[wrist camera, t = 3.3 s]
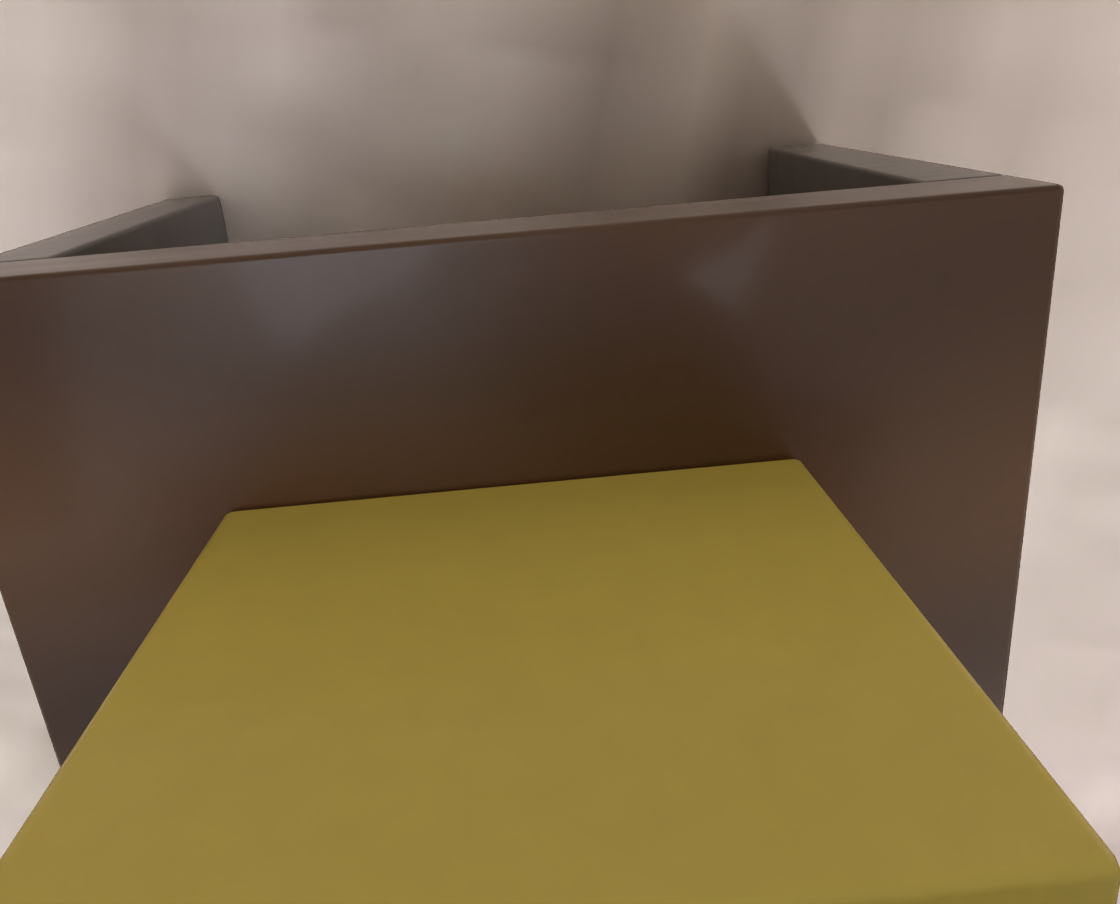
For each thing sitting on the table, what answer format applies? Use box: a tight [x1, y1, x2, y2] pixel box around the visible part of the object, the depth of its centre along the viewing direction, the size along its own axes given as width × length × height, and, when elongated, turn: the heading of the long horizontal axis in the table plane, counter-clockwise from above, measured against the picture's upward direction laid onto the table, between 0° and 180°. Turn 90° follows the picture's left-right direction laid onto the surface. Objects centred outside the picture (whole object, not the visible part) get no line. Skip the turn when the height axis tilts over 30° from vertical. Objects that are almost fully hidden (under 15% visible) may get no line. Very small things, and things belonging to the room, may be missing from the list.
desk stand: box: [0, 144, 1064, 767], centre depth 15 cm, size 12×12×8 cm
